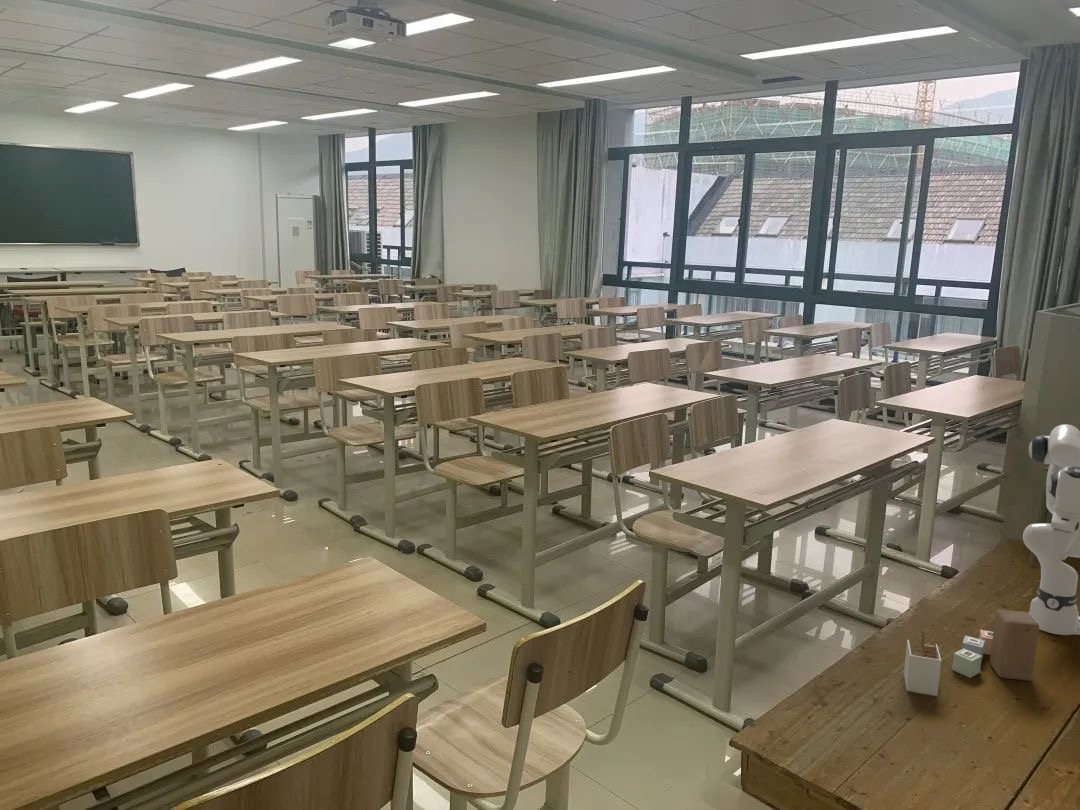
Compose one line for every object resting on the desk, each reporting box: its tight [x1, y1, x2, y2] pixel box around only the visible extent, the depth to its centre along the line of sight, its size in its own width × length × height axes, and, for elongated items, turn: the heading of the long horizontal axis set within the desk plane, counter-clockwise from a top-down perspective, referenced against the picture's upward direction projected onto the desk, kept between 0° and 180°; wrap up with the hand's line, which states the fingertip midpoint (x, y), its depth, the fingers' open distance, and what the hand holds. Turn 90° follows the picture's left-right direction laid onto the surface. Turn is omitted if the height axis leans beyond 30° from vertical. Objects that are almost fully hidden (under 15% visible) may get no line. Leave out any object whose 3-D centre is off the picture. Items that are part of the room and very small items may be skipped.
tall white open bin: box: [903, 630, 942, 697], centre depth 250 cm, size 9×11×17 cm
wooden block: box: [989, 609, 1040, 681], centre depth 257 cm, size 10×10×20 cm
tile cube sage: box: [951, 648, 983, 679], centre depth 259 cm, size 6×6×6 cm
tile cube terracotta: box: [978, 629, 993, 656], centre depth 272 cm, size 6×6×6 cm
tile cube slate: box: [961, 635, 985, 662], centre depth 267 cm, size 6×6×6 cm
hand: (1062, 558), depth 252 cm, fingers closed
